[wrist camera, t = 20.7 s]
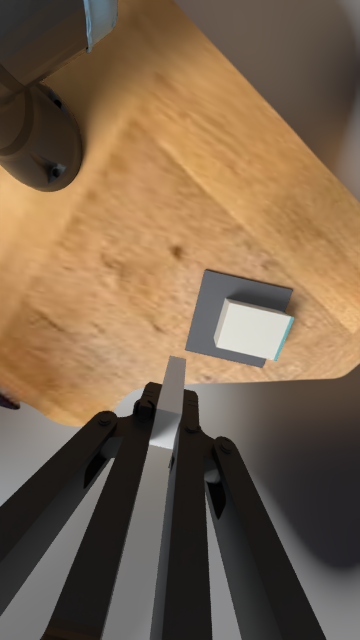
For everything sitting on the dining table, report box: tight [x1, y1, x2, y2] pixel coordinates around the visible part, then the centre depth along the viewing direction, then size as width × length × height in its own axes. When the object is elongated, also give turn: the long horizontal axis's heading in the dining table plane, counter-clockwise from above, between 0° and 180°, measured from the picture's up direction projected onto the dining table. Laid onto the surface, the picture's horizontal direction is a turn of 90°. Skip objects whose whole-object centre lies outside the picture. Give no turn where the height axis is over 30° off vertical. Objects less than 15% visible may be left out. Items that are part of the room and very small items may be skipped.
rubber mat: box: [185, 270, 293, 368], centre depth 40 cm, size 18×18×1 cm
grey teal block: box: [214, 298, 294, 361], centre depth 38 cm, size 9×5×12 cm
